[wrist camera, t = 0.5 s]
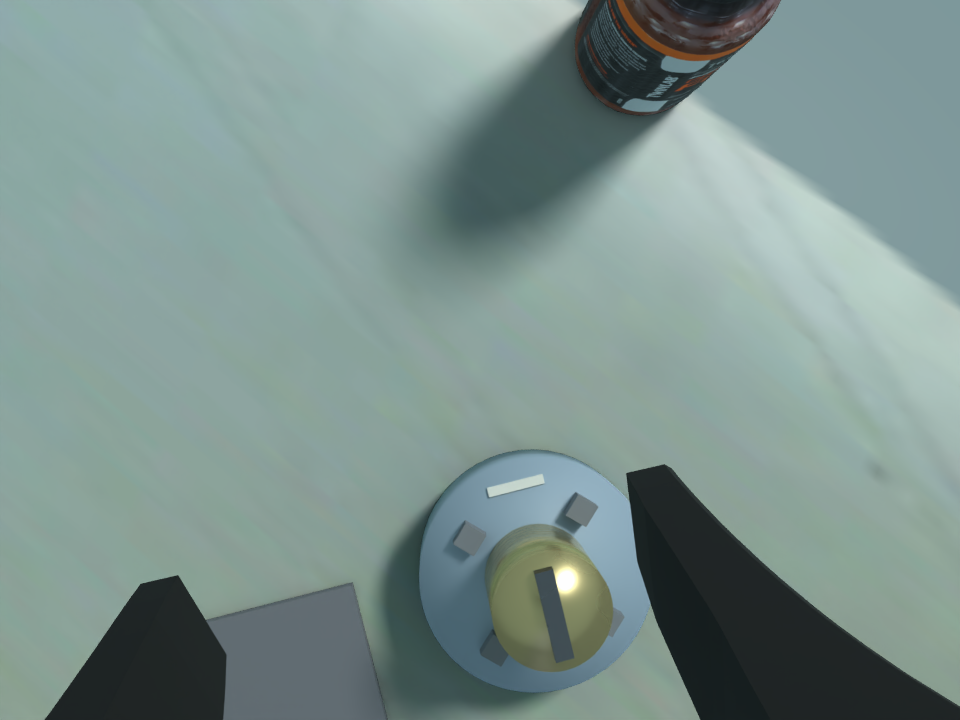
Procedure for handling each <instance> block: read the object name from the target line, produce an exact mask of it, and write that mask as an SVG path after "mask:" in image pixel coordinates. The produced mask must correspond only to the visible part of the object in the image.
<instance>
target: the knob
mask: <svg viewBox="0 0 960 720" xmlns="http://www.w3.org/2000/svg"><path fill="white" fill-rule="evenodd" d="M485 586H486V592H487V597H488V602H489V606H490V611H491V616H492V621H493V626H494V630H495V633H496V636H497V638H498V640H499V642H500V644H501V645H502V647H503V648H504V650H505V651H506V652H507V653H508V654H509V655H510V656H511V657H512V658H513V659H514V660H516V661H517V662H518V663H520V664H522V665H524V666H526V667H528V668H530V669H533V670H537V671H542V672H561V671H566V670H569V669H572V668H575V667H577V666H579V665H581V664H583V663H584V662H586V661H587V660H589V659H590V658H591V657H592V656H593V655H595V653H596V652H597V651H598V650H599V649H600V648H601V646H602V645H603V643H604V642H605V640H606V638H607V636H608V634H609V631H610V628H611V624H612V620H613V602H612V597H611V593H610V590H609V588H608V586H607V583H606V582H605V580H604V578H603V577H602V575H601V574H600V572H599V571H598V569H597V568H596V567H595V565H594V564H593V562H592V561H591V559H590V558H589V556H588V555H587V553H586V552H585V550H584V549H583V547H582V546H581V545H580V543H579V542H578V541H577V540H576V539H575V538H574V537H573V536H572V535H571V534H569V533H568V532H566V531H565V530H563V529H561V528H558V527H556V526H553V525H548V524H530V525H525V526H522V527H519V528H517V529H515V530H512V531H511V532H509V533H508V534H506V535H505V536H504V537H503V538H502V539H501V540H500V541H499V542H498V543H497V544H496V545H495V547H494V548H493V550H492V552H491V553H490V555H489V558H488V561H487V564H486V568H485Z"/></svg>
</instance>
